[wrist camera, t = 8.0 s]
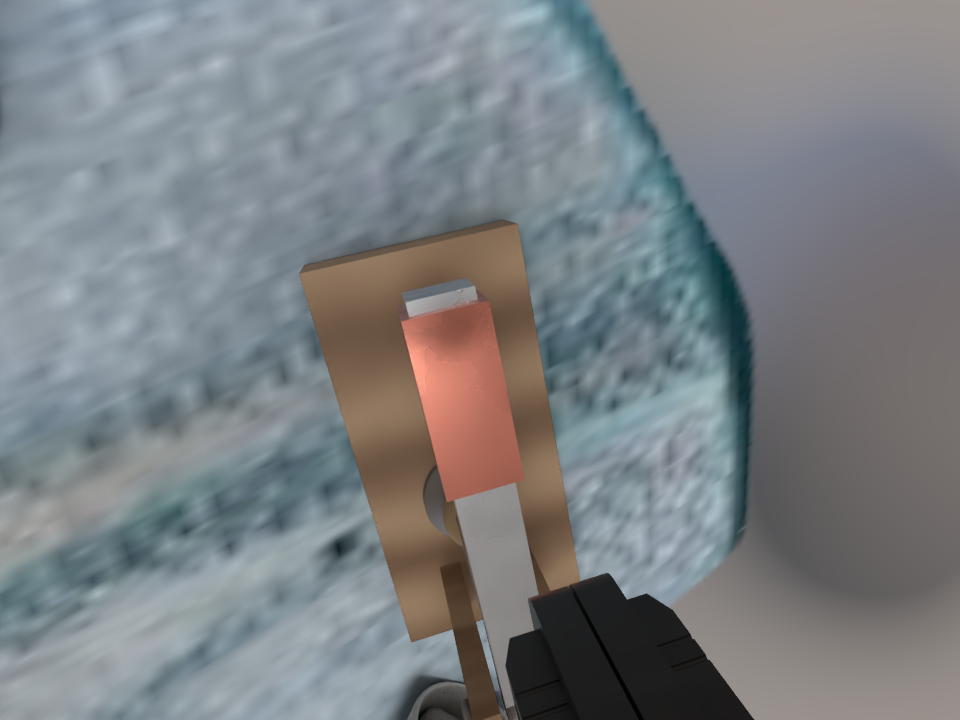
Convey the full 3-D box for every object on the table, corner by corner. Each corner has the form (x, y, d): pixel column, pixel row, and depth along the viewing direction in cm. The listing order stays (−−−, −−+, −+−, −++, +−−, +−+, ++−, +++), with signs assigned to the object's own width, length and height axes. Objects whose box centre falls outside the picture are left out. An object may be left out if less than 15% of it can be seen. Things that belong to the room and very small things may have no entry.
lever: (538, 642, 31) (576, 738, 26) (485, 659, 31) (512, 761, 26) (457, 263, 25) (486, 286, 19) (388, 279, 24) (397, 307, 19)
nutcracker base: (565, 559, 40) (663, 736, 27) (407, 608, 38) (432, 819, 26) (503, 220, 32) (598, 244, 19) (304, 265, 31) (267, 323, 18)
